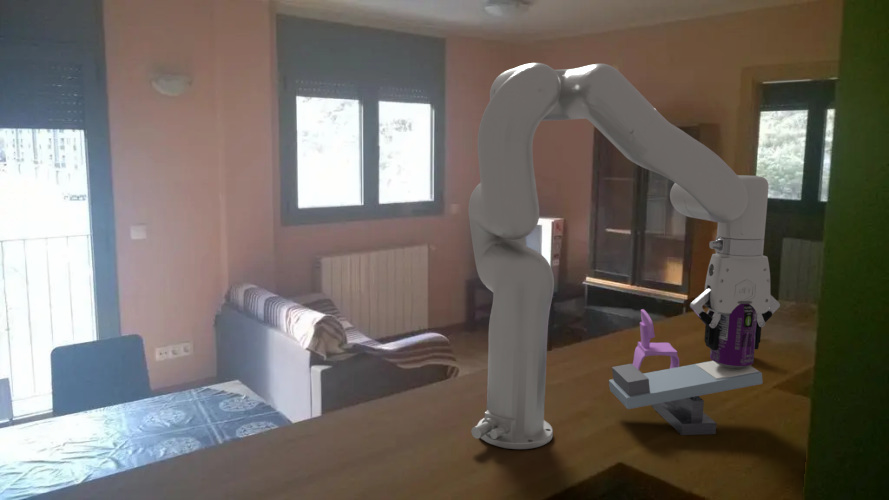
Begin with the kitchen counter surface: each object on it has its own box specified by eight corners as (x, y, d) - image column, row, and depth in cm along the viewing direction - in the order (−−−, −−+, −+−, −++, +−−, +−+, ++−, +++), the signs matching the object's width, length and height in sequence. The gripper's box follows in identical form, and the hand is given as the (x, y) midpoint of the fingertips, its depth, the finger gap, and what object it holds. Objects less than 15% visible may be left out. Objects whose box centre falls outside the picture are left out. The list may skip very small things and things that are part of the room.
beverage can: (757, 372, 119) (763, 303, 117) (713, 368, 120) (718, 301, 118) (748, 359, 125) (753, 294, 124) (706, 356, 127) (711, 292, 125)
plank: (627, 409, 117) (625, 384, 116) (609, 390, 126) (607, 366, 125) (762, 383, 119) (760, 358, 118) (735, 366, 128) (733, 343, 127)
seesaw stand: (681, 435, 117) (683, 403, 116) (650, 405, 130) (652, 377, 129) (715, 434, 117) (718, 402, 116) (681, 405, 130) (683, 376, 129)
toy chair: (680, 389, 139) (685, 316, 137) (635, 387, 139) (640, 315, 137) (668, 375, 147) (673, 306, 145) (626, 373, 147) (631, 305, 145)
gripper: (701, 251, 115) (694, 355, 118) (800, 250, 117) (790, 353, 119) (681, 244, 122) (675, 342, 125) (774, 244, 124) (766, 340, 127)
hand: (731, 346), depth 122 cm, fingers closed on beverage can, 6 cm apart
